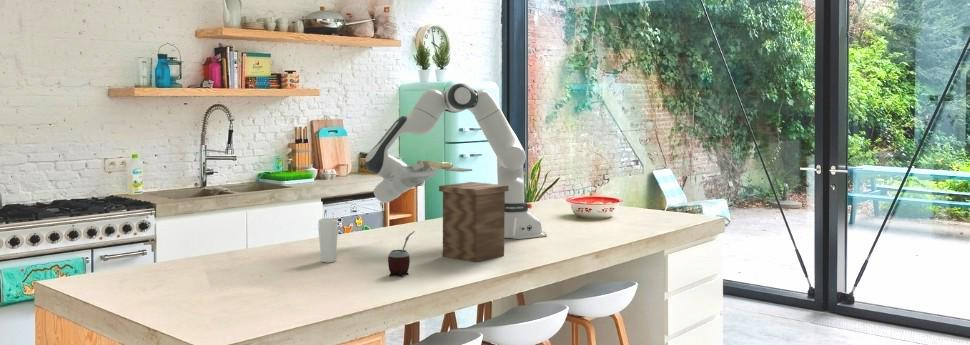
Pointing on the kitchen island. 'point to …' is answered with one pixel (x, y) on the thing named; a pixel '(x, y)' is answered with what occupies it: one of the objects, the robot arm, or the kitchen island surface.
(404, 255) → the mate gourd
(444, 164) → the brass handle with plate
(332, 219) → the drinking glass
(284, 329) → the kitchen island surface
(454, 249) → the lidded wooden box
